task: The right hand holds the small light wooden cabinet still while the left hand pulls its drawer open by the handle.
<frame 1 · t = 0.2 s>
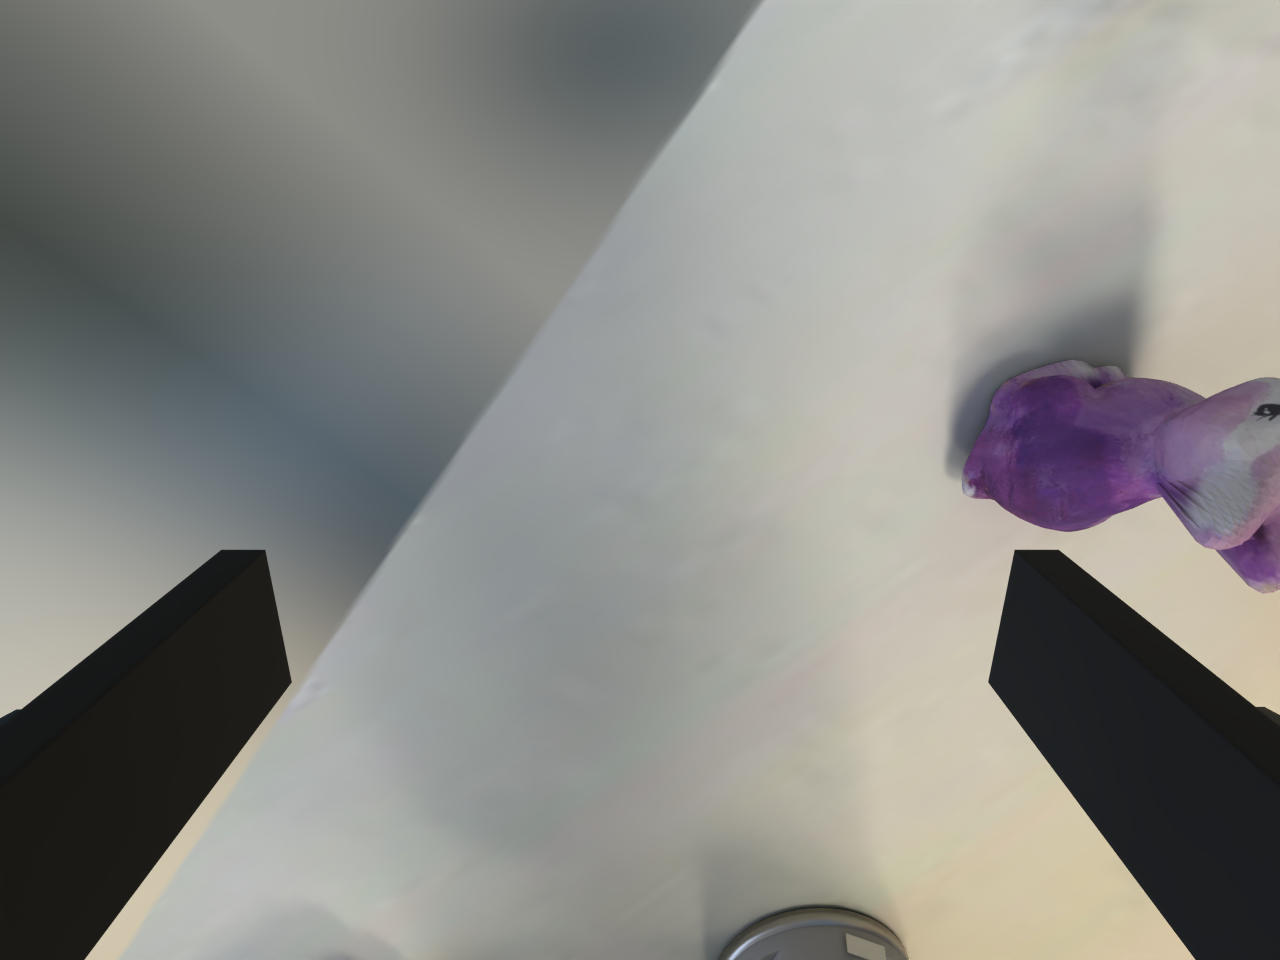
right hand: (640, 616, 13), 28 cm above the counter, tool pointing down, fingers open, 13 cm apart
figurine: (1050, 419, 40), on the counter
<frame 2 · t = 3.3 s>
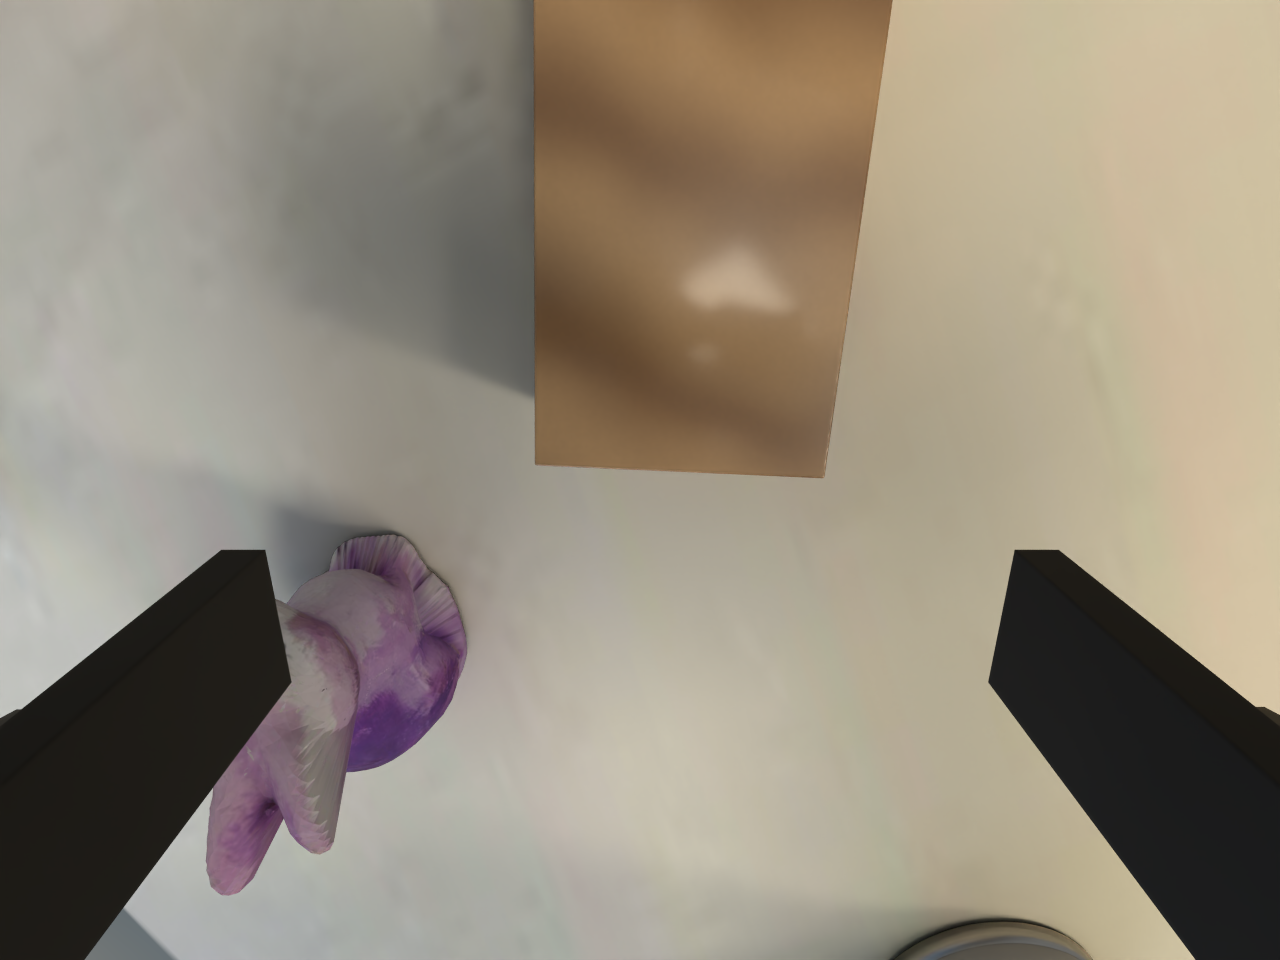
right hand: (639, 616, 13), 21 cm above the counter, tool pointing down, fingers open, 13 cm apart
cabinet: (686, 167, 30), on the counter
figurine: (382, 610, 37), on the counter
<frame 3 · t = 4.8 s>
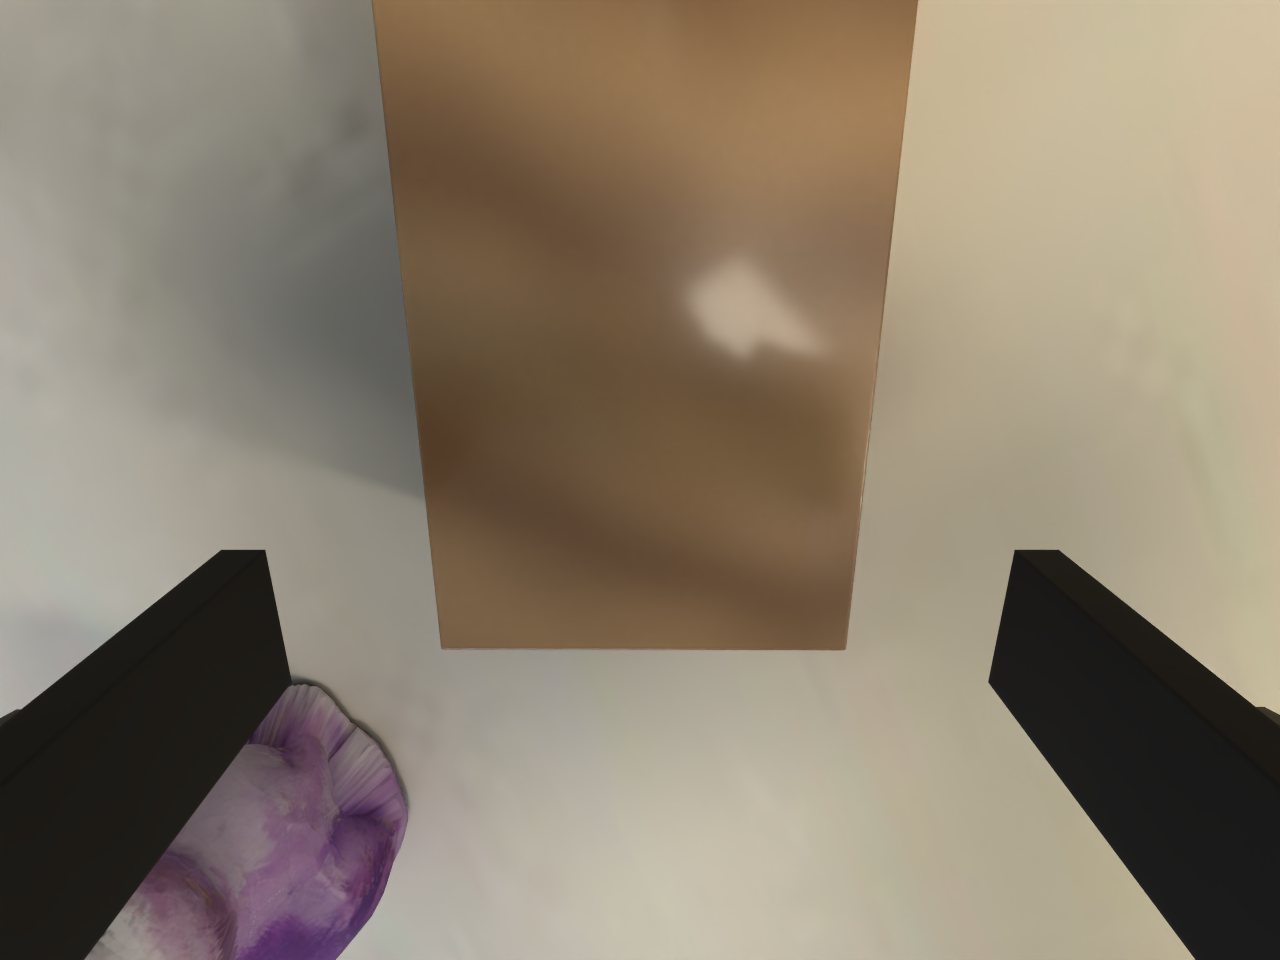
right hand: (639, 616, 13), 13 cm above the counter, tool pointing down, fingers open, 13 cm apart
cabinet: (643, 216, 22), on the counter
figurine: (300, 771, 30), on the counter
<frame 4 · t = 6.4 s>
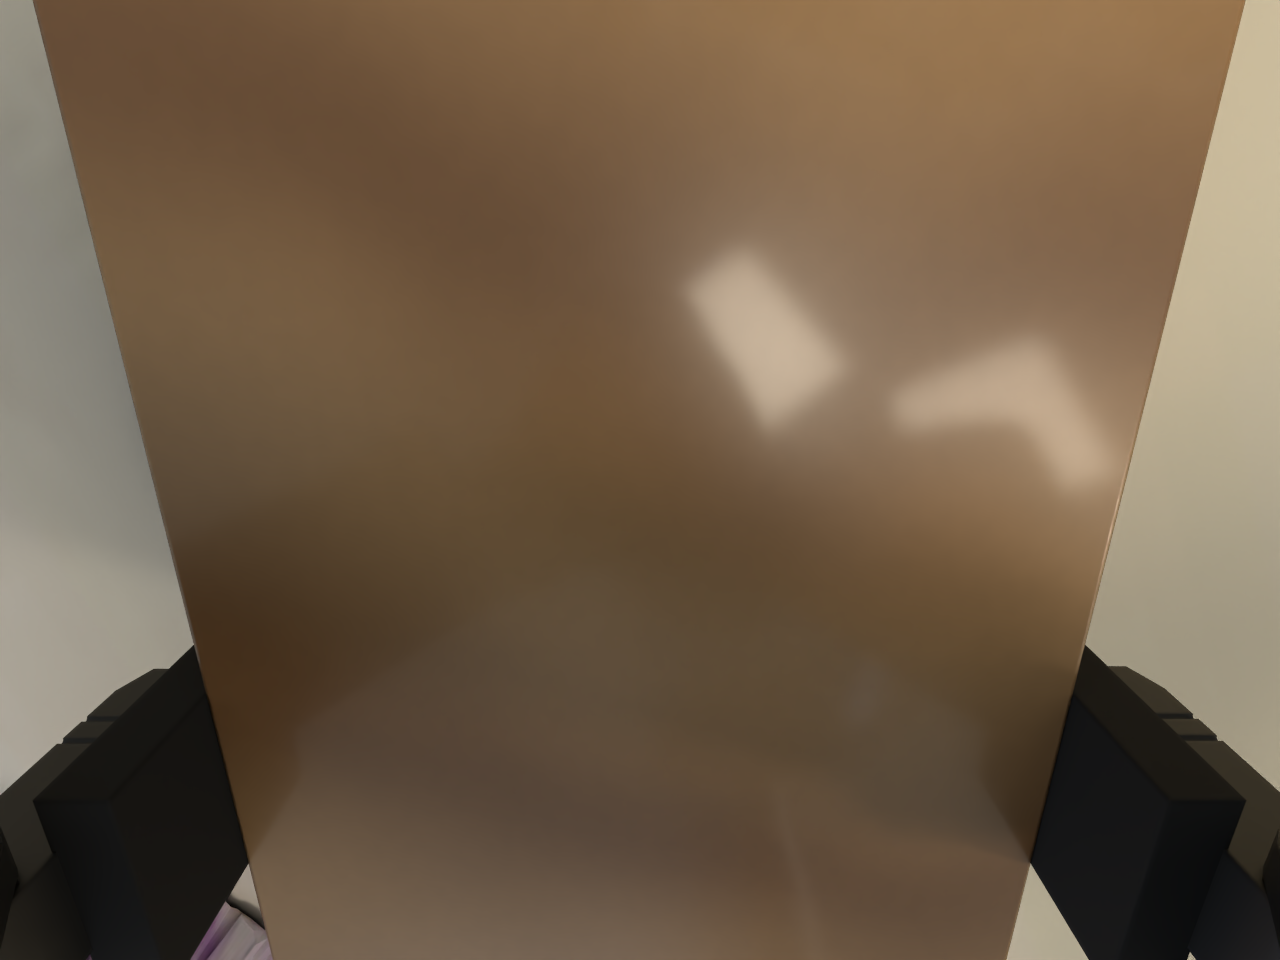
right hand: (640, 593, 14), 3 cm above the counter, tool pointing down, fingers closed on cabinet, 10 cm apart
cabinet: (639, 195, 14), on the counter, touching right hand
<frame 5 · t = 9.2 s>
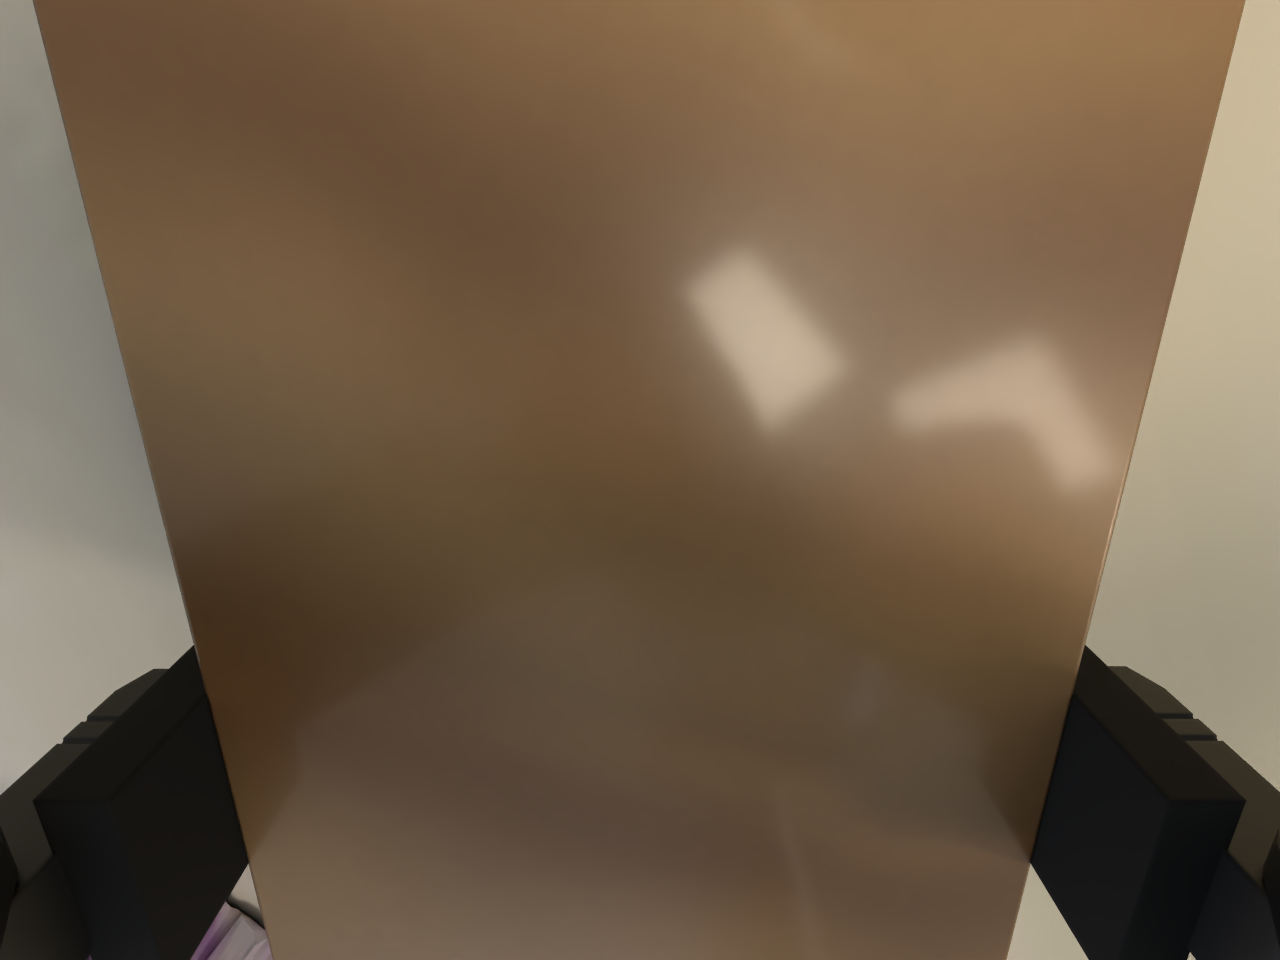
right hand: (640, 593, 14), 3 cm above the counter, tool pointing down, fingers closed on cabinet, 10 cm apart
cabinet: (639, 195, 14), on the counter, touching right hand
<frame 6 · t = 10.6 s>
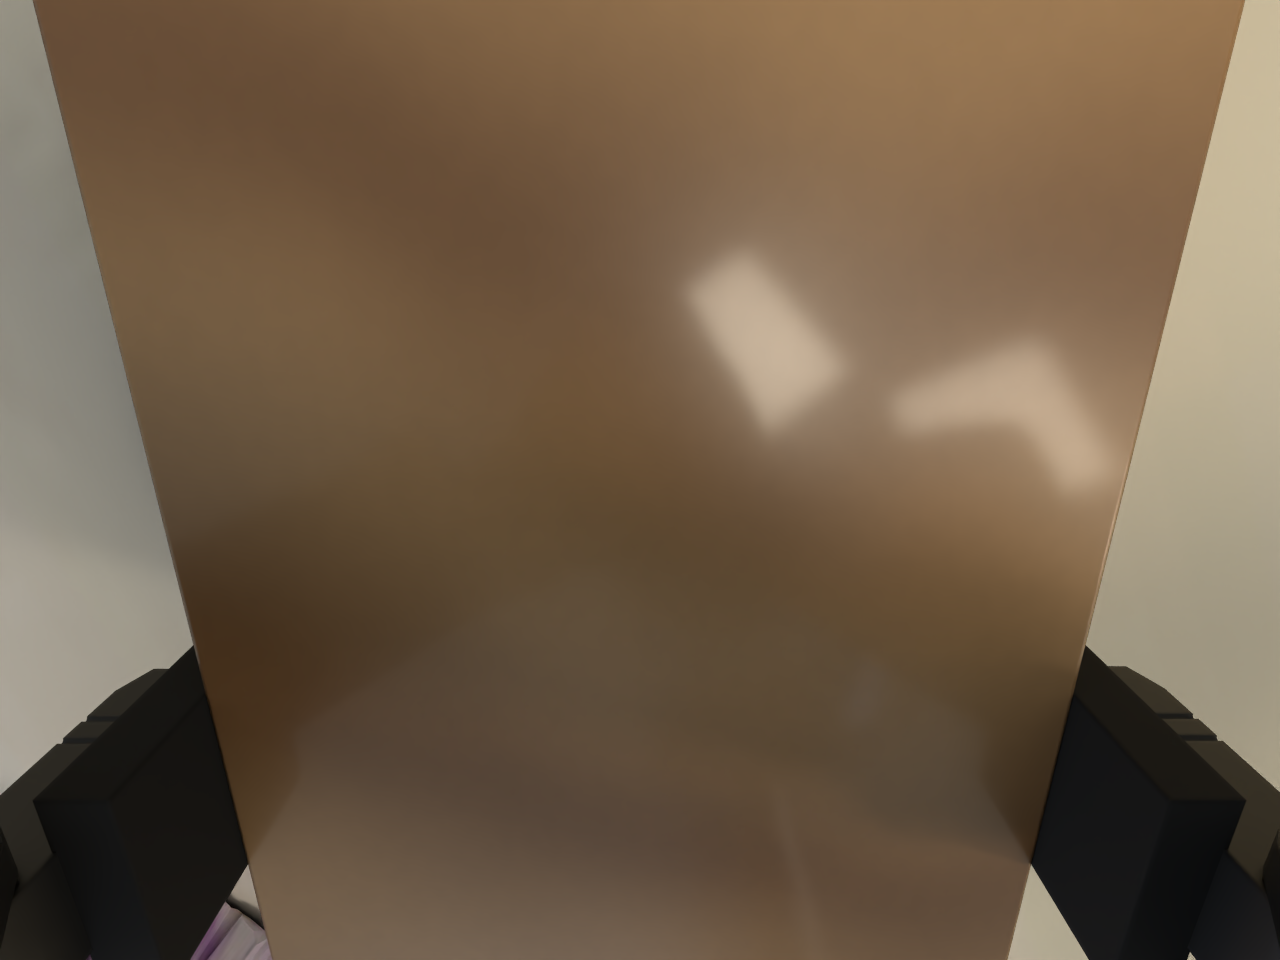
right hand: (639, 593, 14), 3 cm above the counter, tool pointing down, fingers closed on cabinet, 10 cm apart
cabinet: (639, 195, 14), on the counter, touching right hand
when the right hand's fingers open (3 cm above the counter, at t = 12.4 s): cabinet stays where it is, on the counter.
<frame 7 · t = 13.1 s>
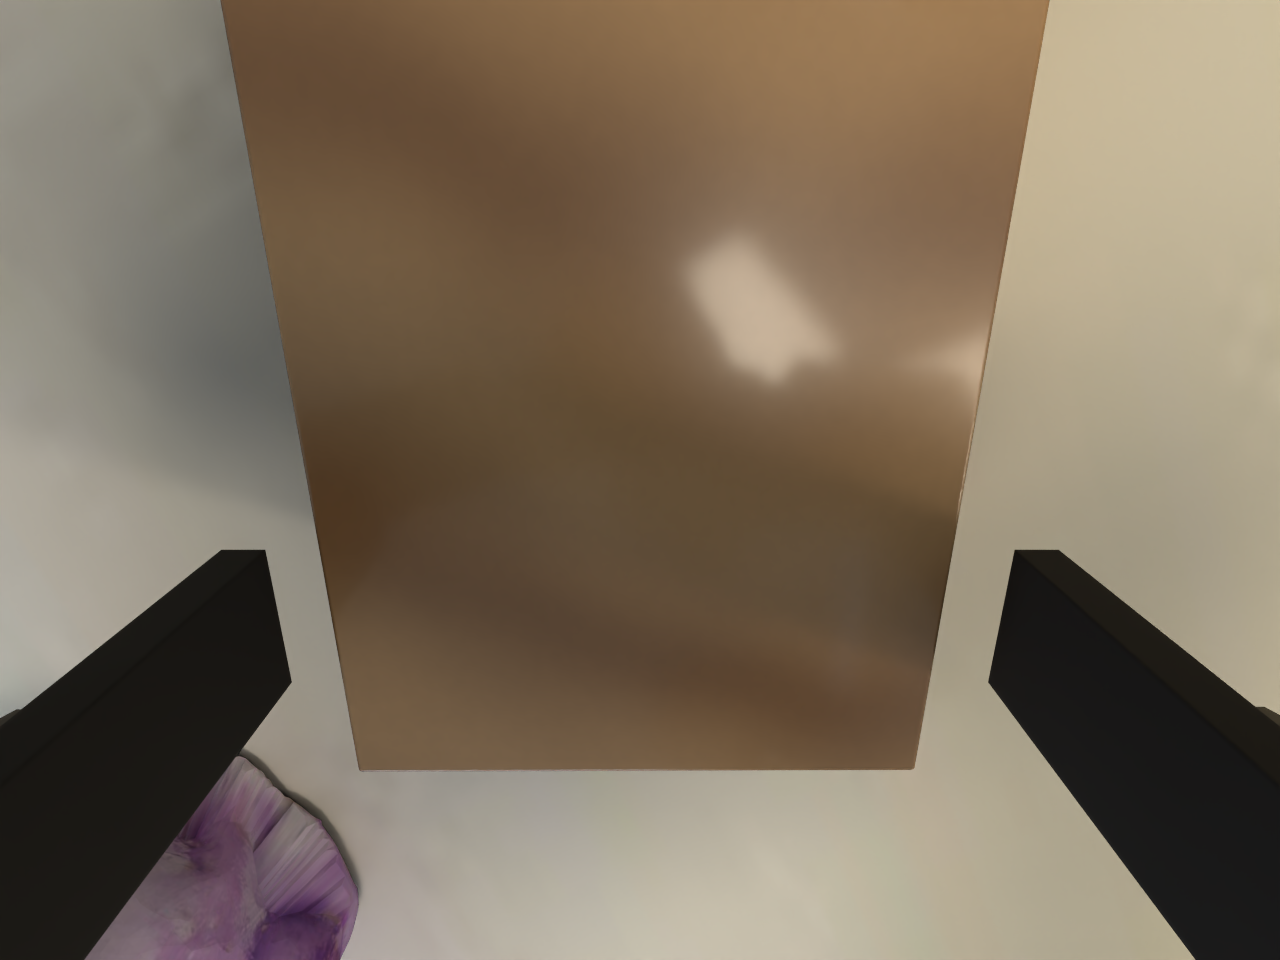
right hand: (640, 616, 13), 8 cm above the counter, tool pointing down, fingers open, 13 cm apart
cabinet: (636, 174, 17), on the counter
figurine: (229, 850, 25), on the counter
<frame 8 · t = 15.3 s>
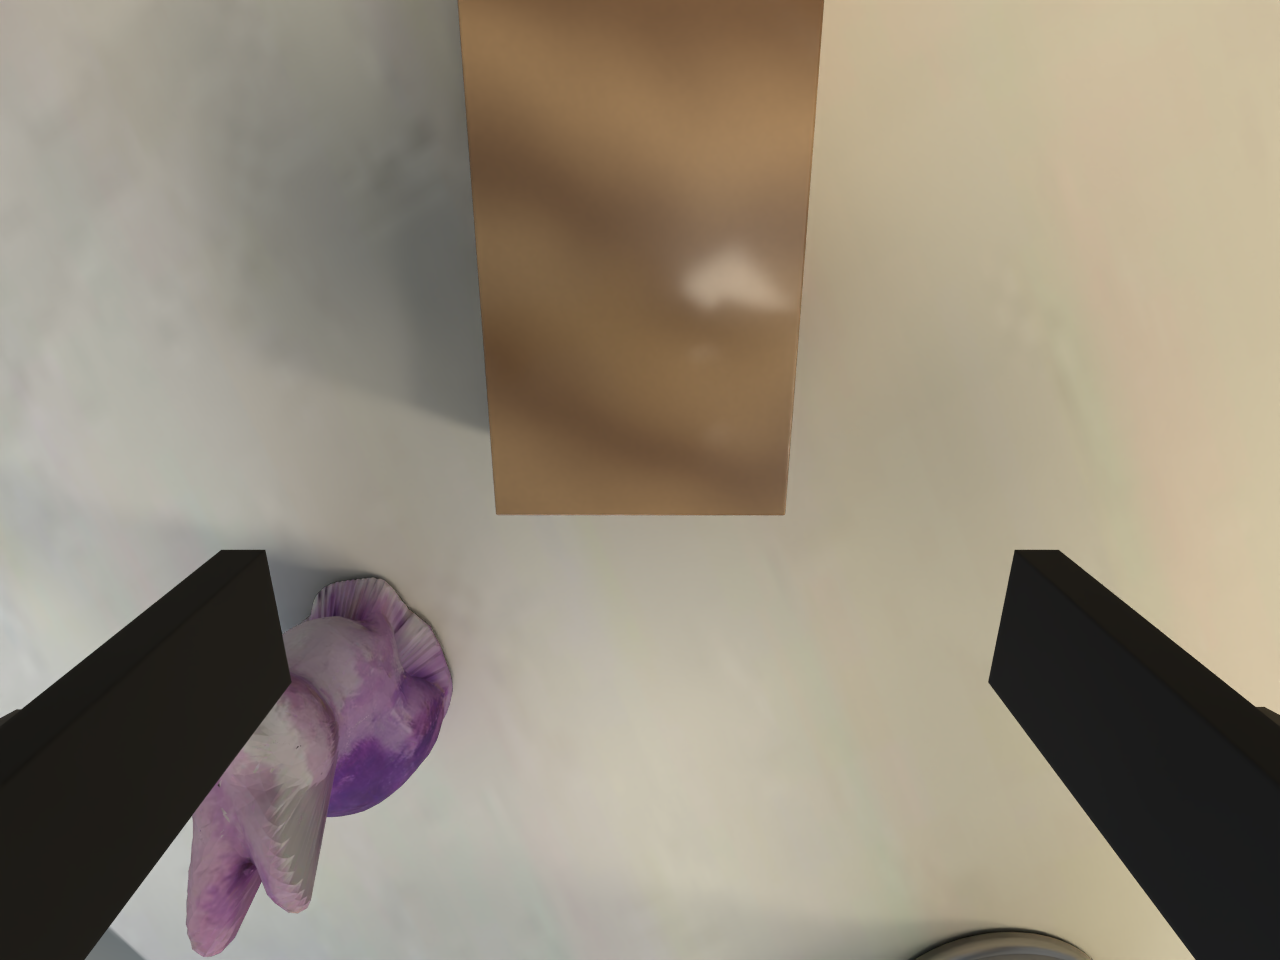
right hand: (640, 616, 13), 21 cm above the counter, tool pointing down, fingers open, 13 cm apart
cabinet: (640, 205, 30), on the counter
figurine: (366, 651, 37), on the counter
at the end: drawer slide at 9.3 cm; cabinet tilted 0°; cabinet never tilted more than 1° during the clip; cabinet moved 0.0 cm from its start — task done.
